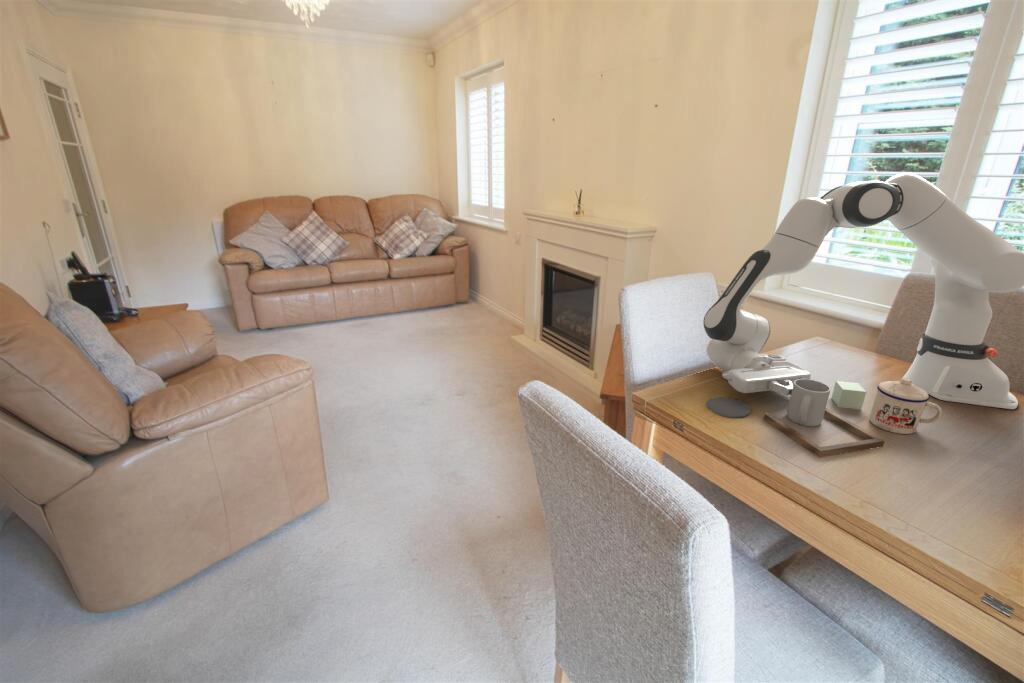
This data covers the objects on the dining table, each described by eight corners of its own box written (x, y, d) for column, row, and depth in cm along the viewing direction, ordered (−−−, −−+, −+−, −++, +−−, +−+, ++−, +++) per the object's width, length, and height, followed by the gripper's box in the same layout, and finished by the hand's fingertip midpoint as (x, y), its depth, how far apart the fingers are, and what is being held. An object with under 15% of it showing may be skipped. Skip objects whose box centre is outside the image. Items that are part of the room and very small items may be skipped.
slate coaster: (736, 397, 120) (736, 395, 119) (759, 415, 110) (759, 413, 110) (699, 401, 119) (699, 399, 119) (719, 419, 109) (719, 417, 109)
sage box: (853, 400, 118) (858, 383, 116) (861, 410, 113) (866, 391, 112) (831, 398, 119) (835, 380, 117) (837, 407, 115) (842, 389, 113)
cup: (823, 418, 110) (832, 384, 106) (817, 435, 102) (826, 400, 99) (789, 408, 114) (797, 376, 111) (780, 425, 107) (788, 390, 104)
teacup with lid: (867, 427, 106) (881, 381, 101) (867, 411, 112) (880, 367, 108) (936, 444, 99) (954, 395, 95) (931, 426, 106) (948, 380, 102)
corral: (763, 419, 109) (764, 413, 109) (821, 411, 113) (822, 406, 112) (818, 457, 95) (820, 451, 94) (882, 446, 98) (884, 440, 98)
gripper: (720, 362, 120) (757, 384, 107) (787, 355, 124) (830, 376, 111) (716, 383, 122) (752, 408, 109) (782, 376, 126) (824, 399, 113)
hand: (792, 392), depth 110 cm, fingers closed
